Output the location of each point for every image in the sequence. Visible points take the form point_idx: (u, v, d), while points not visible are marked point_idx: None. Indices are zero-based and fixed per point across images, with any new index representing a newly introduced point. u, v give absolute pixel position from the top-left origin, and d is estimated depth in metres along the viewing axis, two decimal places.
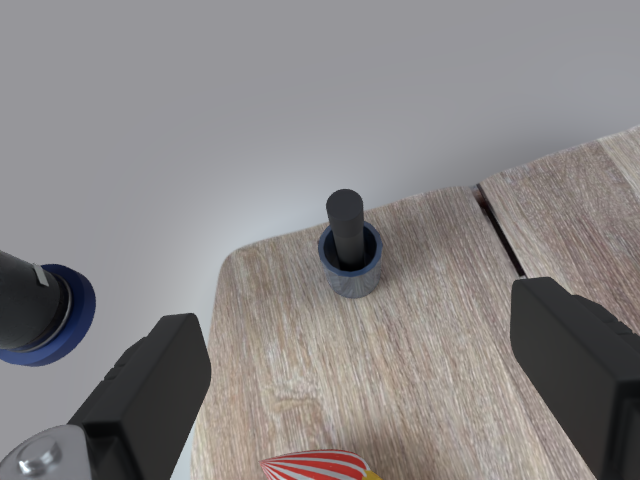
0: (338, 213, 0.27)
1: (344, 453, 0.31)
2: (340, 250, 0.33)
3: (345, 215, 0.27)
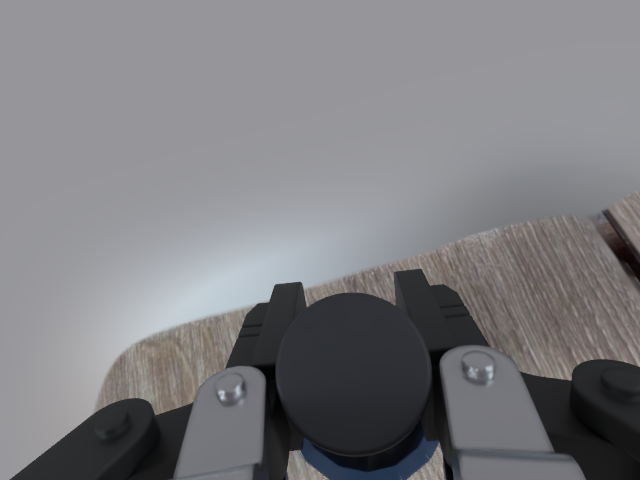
0: (326, 413, 0.06)
1: None
2: None
3: (357, 425, 0.06)
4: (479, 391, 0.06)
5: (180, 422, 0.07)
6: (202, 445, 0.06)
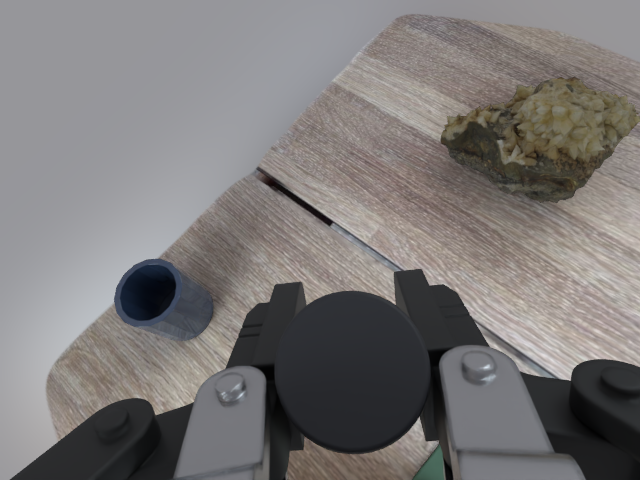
0: (325, 410, 0.06)
1: None
2: None
3: (355, 423, 0.06)
4: (479, 391, 0.06)
5: (180, 422, 0.07)
6: (202, 445, 0.06)
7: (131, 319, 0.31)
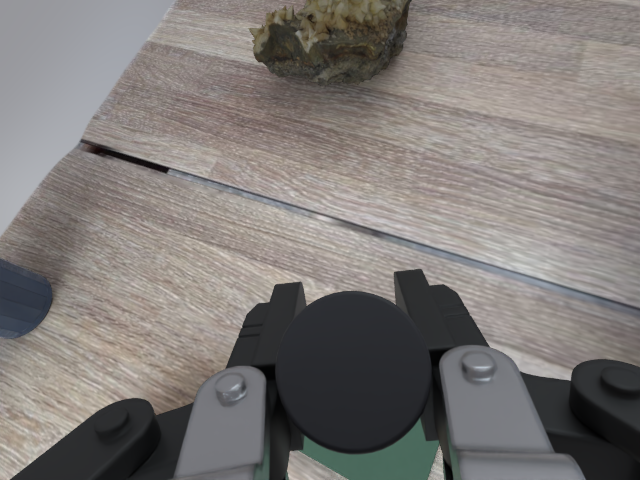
0: (325, 411, 0.06)
1: None
2: None
3: (356, 423, 0.06)
4: (478, 391, 0.06)
5: (180, 423, 0.07)
6: (202, 445, 0.06)
7: None
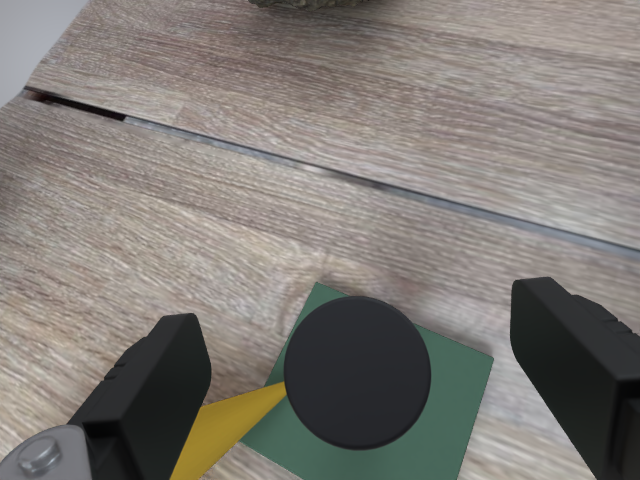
0: (331, 410, 0.07)
1: None
2: None
3: (360, 421, 0.06)
4: None
5: None
6: None
7: None
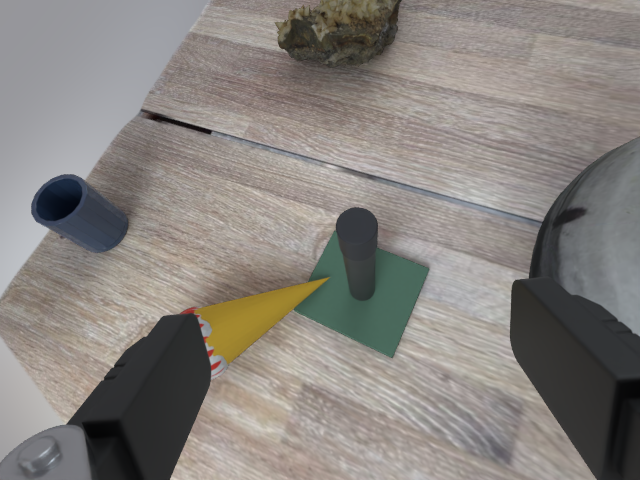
0: (349, 235, 0.24)
1: None
2: (350, 271, 0.30)
3: (357, 238, 0.24)
4: None
5: None
6: None
7: (49, 221, 0.37)
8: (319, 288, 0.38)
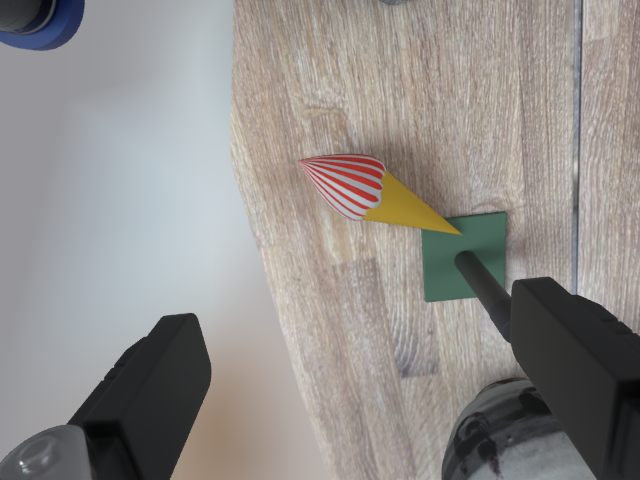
0: (509, 331, 0.31)
1: (368, 158, 0.37)
2: (478, 292, 0.37)
3: (509, 336, 0.31)
4: None
5: None
6: None
7: None
8: None
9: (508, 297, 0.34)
